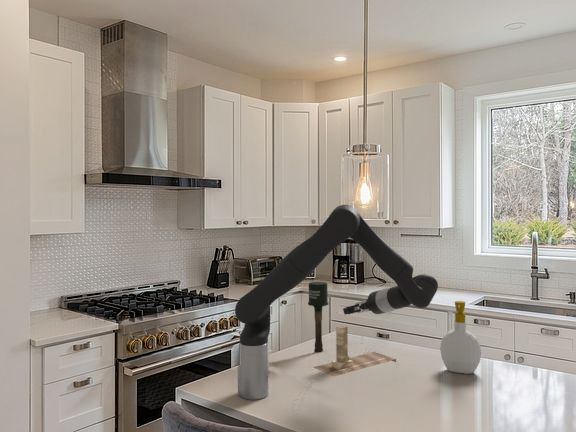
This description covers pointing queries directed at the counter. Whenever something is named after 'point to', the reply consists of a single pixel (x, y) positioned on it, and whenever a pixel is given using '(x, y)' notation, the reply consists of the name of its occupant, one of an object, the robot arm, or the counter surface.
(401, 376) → the counter surface
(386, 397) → the counter surface
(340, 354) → the tan upright block
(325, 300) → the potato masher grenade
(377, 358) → the board
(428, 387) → the counter surface
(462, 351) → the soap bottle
